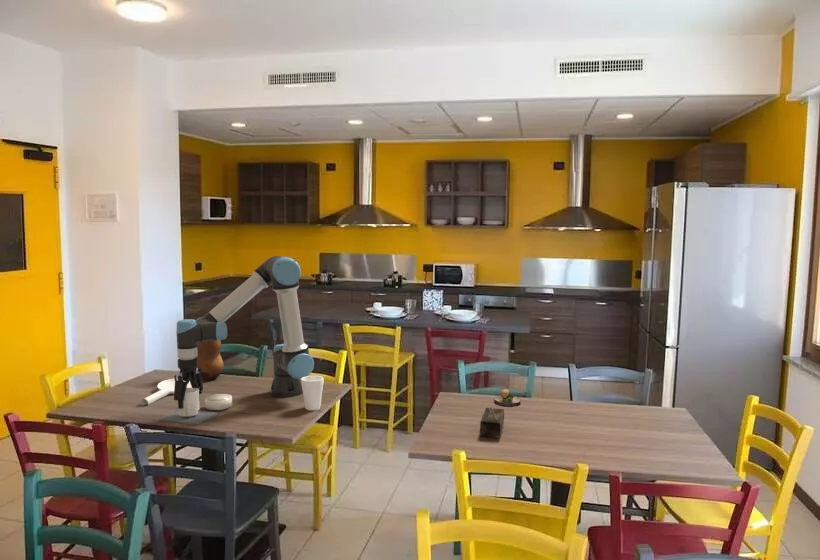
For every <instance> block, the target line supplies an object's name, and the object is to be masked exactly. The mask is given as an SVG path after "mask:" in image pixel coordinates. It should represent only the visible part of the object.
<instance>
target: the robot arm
mask: <svg viewBox="0 0 820 560" xmlns="http://www.w3.org/2000/svg"><path fill="white" fill-rule="evenodd" d="M301 274H302V270H301V267H300V265H299V263H298V261H296V260H295V259H294V258H292V257H289V256H281V255H275V256H271V257H269V258H267V259H266V260H264V262H262V263H261V264H260V265H259V266H258V267H257V268H256V269H254V270H253V271H252V275H250V277H248V279H246V280H245V281H244V282H242V283H241V284H240V285H239V286H238V287H237V288H235V290H233V291H232V292H231V293H230V294H229V295H228V296H226V297H225V298H224V299H223V300H222V301H220V302H219V303H218V304H217V305H216V306H214V307H213V308H212V309H211V310H210V311H209V312H207V313H206V314H205V315H204V316H202V317H198V318H197V319H191V318H190V319H189V318H185V319H179V320H178V321H177V322H176V332H175V334H176V346H177V368H178V369H179V374H175V375H174V376H173V378H175V389H174V394H173V400H174V401H177V406H178V410H179V416H186V400H184V397H185V392H186V388H187V384H188V383H189V381H190V383H191V386H192V388H198V389H199V402H200V401H201V400H200V399H201V397H200V395H201V394H203V391H204V385H203V377H201V368H196V367H197V366H198V361H197V357H198V342H206V341H217V340H218V341H219V340H221V341H222V340H224V341H225V340H226V339H227V337H228V326H227V323H226V321H227V320H228V319H229V318H231V316H233V315H234V314H235V313H236V312H238V311H239V310H240V309H241V308H242V307H243V306H245V305H246V304H247V303H248V302H249V301H251V300H252V299H253V298H254V297H255V296H256V295H258V294H259V293H260V292H261V291H263V289H267V288H269V287H270V286H271V287H272V291H274V292H275V293H276V297H277V304H278V312H279V317H280V325H281V331H282V336H283V337H282V338H283V343H281V344H276V345H274V347H273V351H272V353H273V380H272V383H271V385H270V394H271V396H274V397H280V398H281V397H282V398H283V397H284V398H285V397H288V398H289V397H295V396H299V395H301V394H302V395H303V390H302V385H301V378H302V377H305V376H310V374H311V373H312V372H313V370H314V366H315V361H314V358H313V356H312V355H310V349H309V344H307V343H306V342H305V339H304V334H303V327H302V319H301V312H300V304H299V299H298V298H299V297H298V291H297V290H298V289H299V287H300V281H299V280H300V278H301ZM200 407H201V406H200V405H199V407H198V410H199V411H201V409H200Z"/></svg>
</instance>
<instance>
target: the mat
mask: <svg viewBox="0 0 820 560" xmlns="http://www.w3.org/2000/svg"><path fill="white" fill-rule="evenodd" d="M219 414H220V412H217V411H216V412H215V411H214V412H213V411H205V410H198V414H197V415H194V416H179V409H178V410H176V411H174V412H172V413H170V414H167V415H165V416H163V417H160V418H159V421H160V422H170V423H175V424H176V423H177V424H186V425H193V426H198V425H200V424H202V423H204V422H207V421H208V420H210V419H213V418H215V417H216V416H218V415H219Z"/></svg>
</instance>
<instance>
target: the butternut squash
mask: <svg viewBox="0 0 820 560" xmlns="http://www.w3.org/2000/svg"><path fill="white" fill-rule="evenodd" d="M221 341H222V340H219V341H218V340H217V341H206V342H197V361H198V366H197V367H196V368H201V378H202V379H203V378H204V379H206V380H211V381H213V380H214V379H216V378H218V377H219V376H220V375H222V372H223V370H224V365H225V364H224V361H223V358H222V355H221V349H222V342H221Z"/></svg>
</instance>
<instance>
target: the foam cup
mask: <svg viewBox="0 0 820 560" xmlns="http://www.w3.org/2000/svg"><path fill="white" fill-rule="evenodd" d="M324 380H325V379H324V377H323V376H321V375H308V376H305V377H302V378H301V385H302V390H303V393H302V396H303V402H304V409H305V410H306V409H307V411H317V410H320V409H321V404H322V397H323V389H324V388H323V387H324V382H325V381H324Z"/></svg>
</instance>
